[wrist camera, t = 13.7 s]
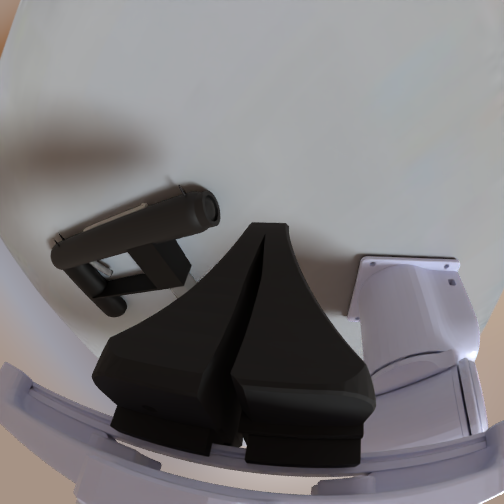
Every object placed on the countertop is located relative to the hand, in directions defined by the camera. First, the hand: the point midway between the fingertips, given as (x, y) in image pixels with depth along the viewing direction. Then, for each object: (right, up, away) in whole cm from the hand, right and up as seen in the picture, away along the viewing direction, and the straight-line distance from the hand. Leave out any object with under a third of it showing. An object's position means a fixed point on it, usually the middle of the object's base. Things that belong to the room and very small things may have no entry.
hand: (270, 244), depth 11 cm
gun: (-10, -2, +17) cm, 20 cm away
